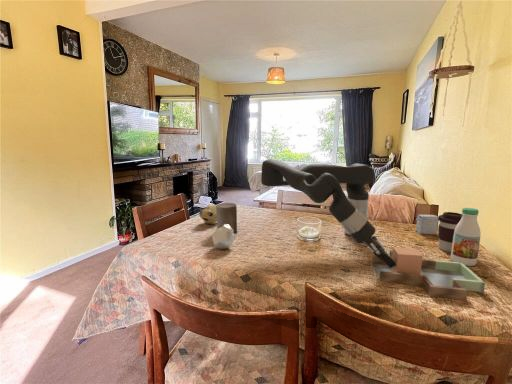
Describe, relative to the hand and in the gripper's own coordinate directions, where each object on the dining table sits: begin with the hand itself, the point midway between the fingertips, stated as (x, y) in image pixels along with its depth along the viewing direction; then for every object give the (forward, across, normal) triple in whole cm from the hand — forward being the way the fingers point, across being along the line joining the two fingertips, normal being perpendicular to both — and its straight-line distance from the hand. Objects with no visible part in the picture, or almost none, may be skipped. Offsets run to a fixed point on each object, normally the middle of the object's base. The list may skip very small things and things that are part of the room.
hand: (392, 265), depth 91 cm
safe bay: (+16, -2, +11) cm, 20 cm away
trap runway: (+9, -2, +4) cm, 10 cm away
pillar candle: (-43, -29, -52) cm, 74 cm away
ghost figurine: (-40, -10, -48) cm, 63 cm away
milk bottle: (+22, -19, +17) cm, 34 cm away
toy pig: (-53, -41, -62) cm, 91 cm away
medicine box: (+21, -52, +16) cm, 58 cm away
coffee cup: (+22, -31, +17) cm, 42 cm away
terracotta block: (+5, -1, +1) cm, 5 cm away
